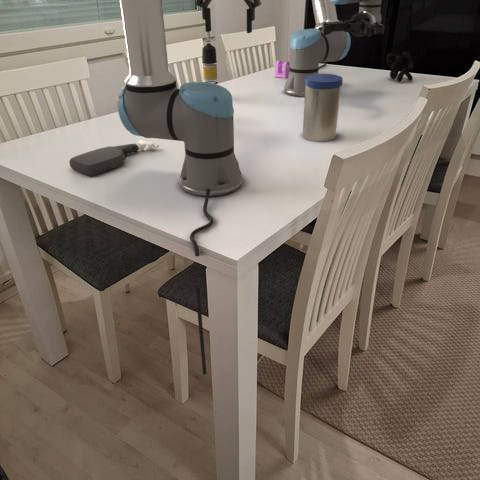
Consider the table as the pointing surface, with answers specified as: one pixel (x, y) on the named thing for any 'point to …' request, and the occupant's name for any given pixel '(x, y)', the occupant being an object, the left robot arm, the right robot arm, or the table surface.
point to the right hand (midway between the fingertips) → (346, 31)
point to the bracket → (279, 69)
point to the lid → (323, 81)
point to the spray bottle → (106, 157)
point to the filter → (209, 61)
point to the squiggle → (399, 66)
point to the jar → (320, 113)
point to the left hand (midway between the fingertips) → (228, 32)
